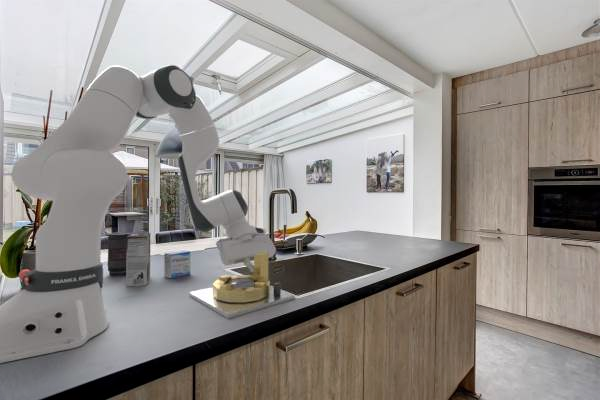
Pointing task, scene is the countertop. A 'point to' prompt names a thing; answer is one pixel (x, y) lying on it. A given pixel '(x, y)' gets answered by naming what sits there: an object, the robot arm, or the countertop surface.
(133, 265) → the coffee box
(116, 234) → the camera lens
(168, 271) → the medicine box
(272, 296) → the base plate
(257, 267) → the lens holder
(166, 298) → the countertop surface
